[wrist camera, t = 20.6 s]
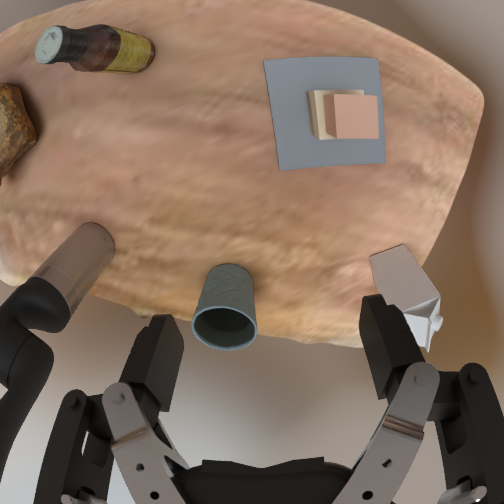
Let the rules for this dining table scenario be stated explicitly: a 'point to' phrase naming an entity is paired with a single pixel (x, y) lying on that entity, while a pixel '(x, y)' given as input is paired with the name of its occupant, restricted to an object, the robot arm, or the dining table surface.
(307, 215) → the dining table surface
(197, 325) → the teal cup
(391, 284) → the milk carton
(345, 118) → the terracotta block
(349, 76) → the base board
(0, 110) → the rough brown rock
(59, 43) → the sauce bottle
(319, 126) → the beech cube
